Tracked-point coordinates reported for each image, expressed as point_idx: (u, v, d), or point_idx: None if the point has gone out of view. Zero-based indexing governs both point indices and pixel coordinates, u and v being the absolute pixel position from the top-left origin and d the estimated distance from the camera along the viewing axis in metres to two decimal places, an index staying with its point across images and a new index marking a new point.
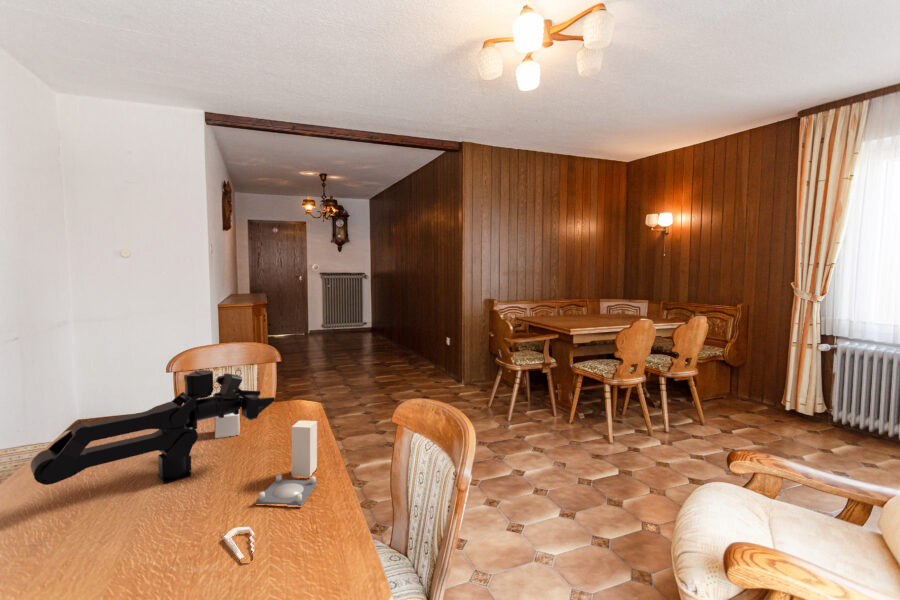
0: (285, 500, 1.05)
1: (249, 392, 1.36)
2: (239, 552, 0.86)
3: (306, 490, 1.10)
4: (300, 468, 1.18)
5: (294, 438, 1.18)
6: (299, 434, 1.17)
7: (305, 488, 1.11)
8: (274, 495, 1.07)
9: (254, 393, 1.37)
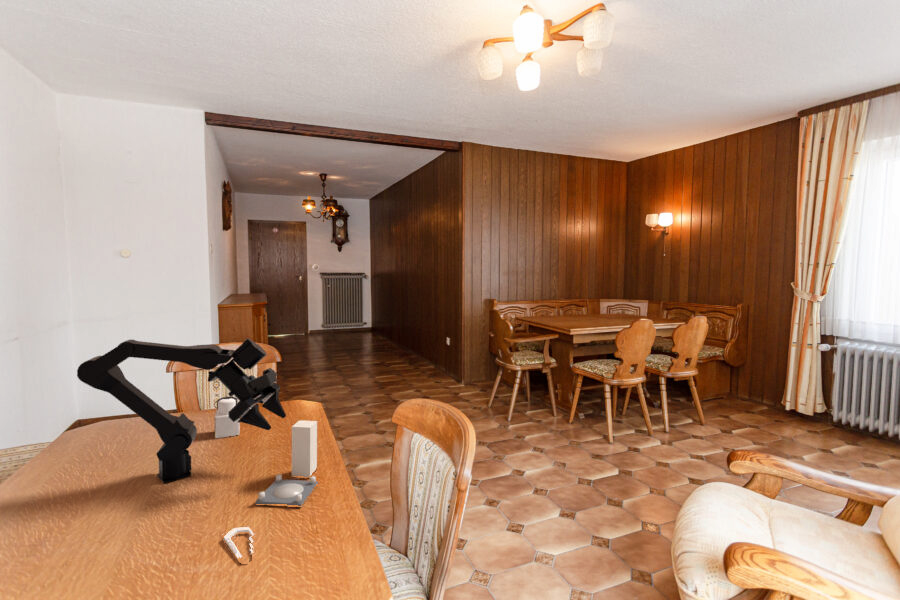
0: (285, 500, 1.05)
1: (278, 406, 1.25)
2: (238, 553, 0.86)
3: (306, 490, 1.10)
4: (300, 468, 1.18)
5: (294, 438, 1.18)
6: (299, 434, 1.17)
7: (305, 488, 1.11)
8: (274, 495, 1.07)
9: (280, 412, 1.25)
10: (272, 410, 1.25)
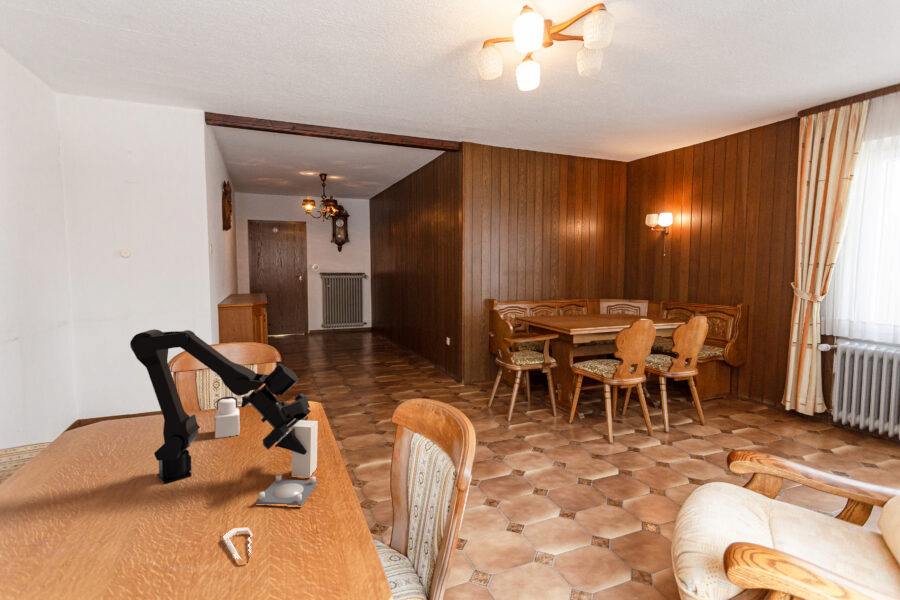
0: (285, 500, 1.05)
1: None
2: (236, 553, 0.86)
3: (306, 490, 1.10)
4: (300, 467, 1.18)
5: None
6: (300, 434, 1.17)
7: (305, 488, 1.11)
8: (274, 495, 1.07)
9: None
10: None
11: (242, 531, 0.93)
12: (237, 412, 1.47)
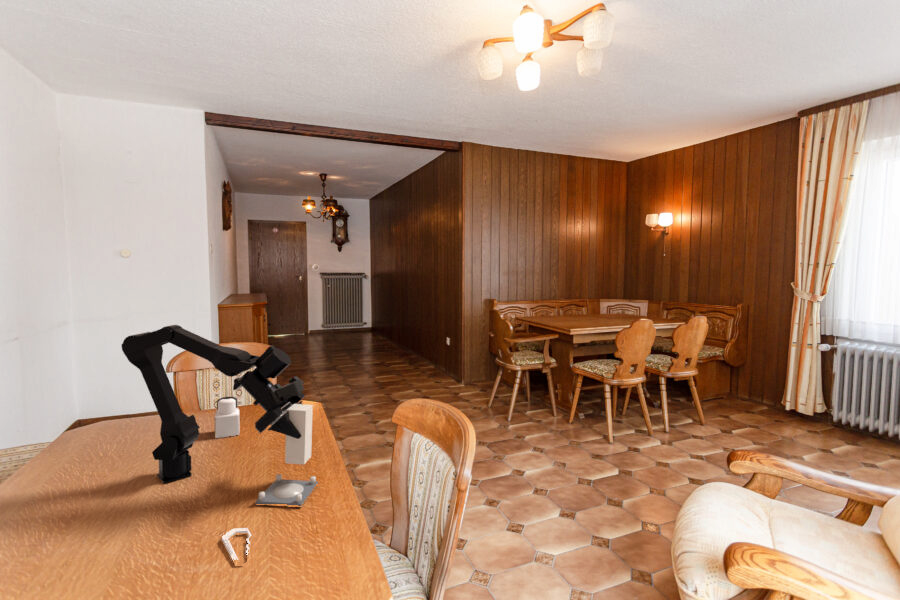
0: (285, 500, 1.05)
1: None
2: (234, 554, 0.86)
3: (306, 490, 1.10)
4: (294, 453, 1.13)
5: None
6: (294, 418, 1.13)
7: (305, 488, 1.11)
8: (274, 495, 1.07)
9: None
10: None
11: (241, 531, 0.93)
12: (237, 412, 1.47)
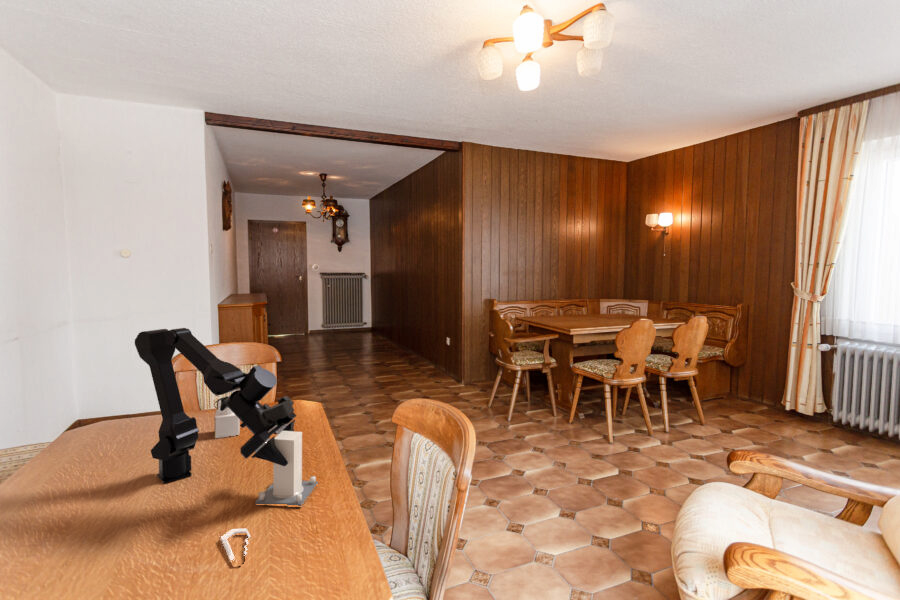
0: (285, 500, 1.05)
1: None
2: (232, 555, 0.86)
3: (306, 490, 1.10)
4: (283, 484, 1.07)
5: None
6: (281, 448, 1.06)
7: (305, 488, 1.11)
8: (274, 495, 1.07)
9: None
10: None
11: (240, 532, 0.93)
12: None
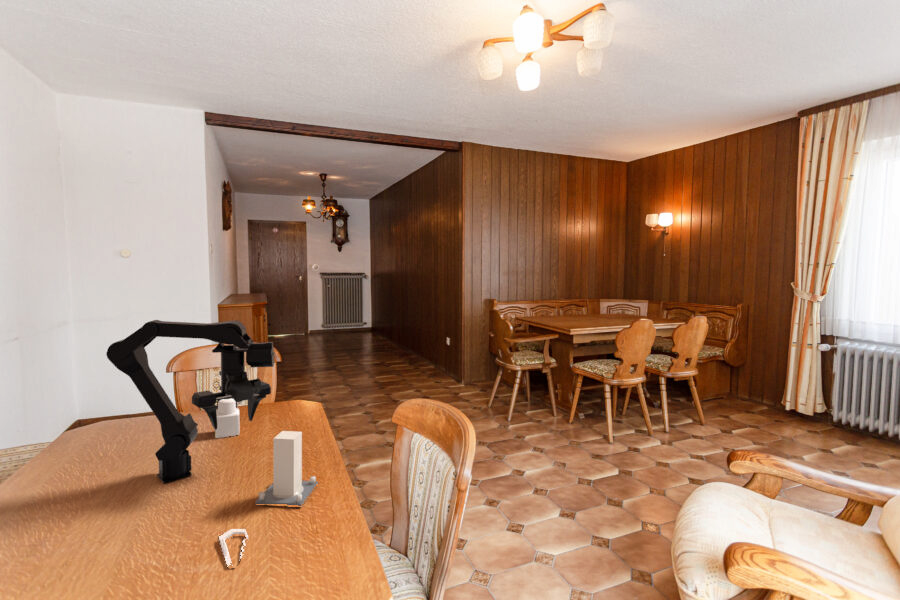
0: (285, 500, 1.05)
1: (251, 409, 1.23)
2: (228, 555, 0.85)
3: (306, 490, 1.10)
4: (283, 484, 1.07)
5: (276, 451, 1.07)
6: (281, 447, 1.06)
7: (305, 488, 1.11)
8: (274, 495, 1.07)
9: (249, 414, 1.24)
10: (248, 406, 1.24)
11: (239, 532, 0.92)
12: (237, 412, 1.47)
